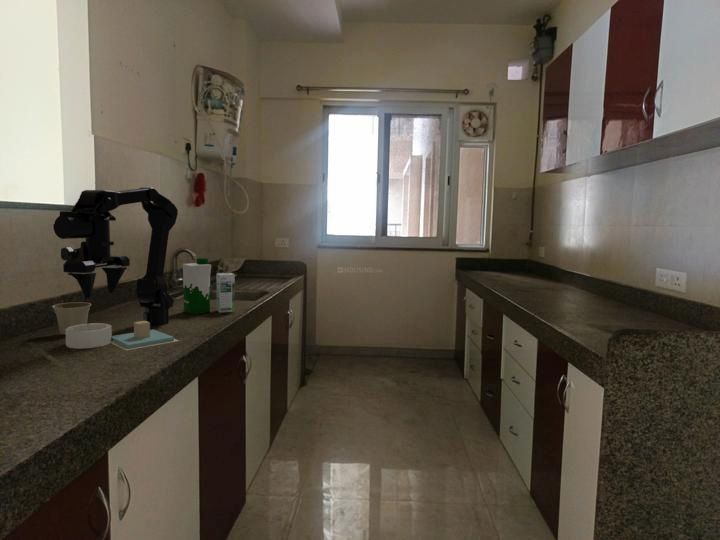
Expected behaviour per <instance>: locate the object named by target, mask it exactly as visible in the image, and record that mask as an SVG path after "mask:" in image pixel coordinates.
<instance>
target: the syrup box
mask: <svg viewBox="0 0 720 540" xmlns="http://www.w3.org/2000/svg"><path fill="white" fill-rule="evenodd" d="M235 276H236V275H235V273H234V272H221V273H220V272H218V273H216V311H217V312H218V313H219V314H222V313H235V311H236V309H235V308H236V307H235V306H236V305H235V304H236V303H235V301H236V300H235V299H236V298H235V297H236V296H235V293H236V292H235V290H236V289H235V284H236V283H235V281H236V280H235V279H236V277H235Z"/></svg>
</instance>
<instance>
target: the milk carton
mask: <svg viewBox="0 0 720 540" xmlns="http://www.w3.org/2000/svg"><path fill="white" fill-rule="evenodd" d="M211 271H212V264H210V263H209V258H206V257H198V258H196V262H195V263H194V262H193V263H191V262H189V263H182V273H183V274H182V279H183V282H182V283H183V284H182V287H183V297H182V299H183V312H184V313H186V314H189V315H199V314H198V313H201V314H207V313H206V312H210V313H211Z"/></svg>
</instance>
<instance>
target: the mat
mask: <svg viewBox="0 0 720 540" xmlns="http://www.w3.org/2000/svg"><path fill="white" fill-rule="evenodd" d="M179 341H180V340H178V339H176V338H174V341H169V342H164V343H158V344H153V345H147V346H141V347H136V348H130V349H128V348H126V347H124V346H122V345H120V344H117V343H115V342H113V341H111V342H110V344H112V345H114V346H116V347H117V348H120V349H122V350H124V351H131V350H137V349H143V348H148V347H153V346H159V345H164V344H170V343H176V342H179Z"/></svg>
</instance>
